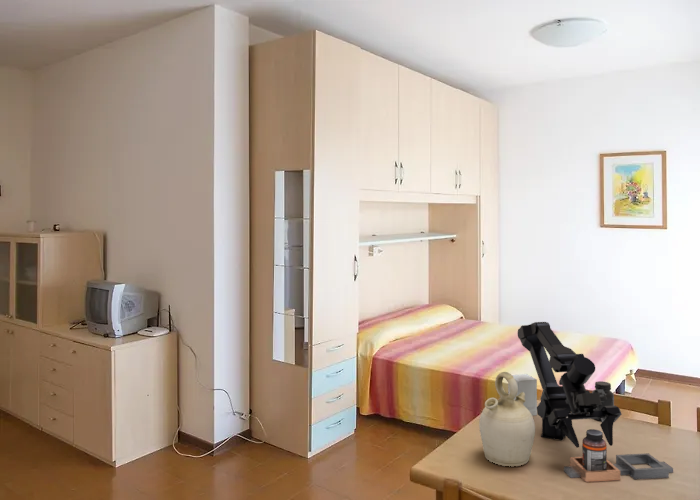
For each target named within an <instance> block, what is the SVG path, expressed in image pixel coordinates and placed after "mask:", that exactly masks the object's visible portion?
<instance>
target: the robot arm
mask: <svg viewBox="0 0 700 500" xmlns="http://www.w3.org/2000/svg"><path fill="white" fill-rule="evenodd" d="M517 337H518V339H519V341H520V343H521V345H522V346H523V347H524V348H525V349H526V350H527V351H529V353H530V356H531V359H532V362H533V363H532V364H533V365H534V368H535V371H536V373H537V377H538V379H539V383H540V386H541V389H542V392H541V396H540V401H539V403H538V404H537V416H539V417H540V418H541V421H542V423H541V424H542V425H541V430H542V431H541V434H540V437H541V438H543V439H544V438H545V439H551V440H557V441H564V438H566V437H567V439H568V440H570V442H571V443H572V444H573V445H574V446H575V448H579V447H580V443H579V440H578V437H577V434H576V432H575V428H574V426H573V420H575V421H576V420H577V421H578V420H591V419H592V420H593V419H594V420H595V418H599V422H600V424H599V426H600V428H601V430H602V433H603V435H604V437H605V439H606V443H608V445H609V446H610V447H611V446H613V444H614V436H613V435H614V433H613V431H614V429H613V427H614V423H616V421H617V420H618V419H619V418H620V417H621V416H622V411H621V409H620V407H618V406H617V405H614V406H604V407H603V408H602V409H601V410H600V411H594V410H593V409H596V408H597V405H601V402H604V401H606V399H607V398H606V394H605V392H604V390H603V389H599V390H595V389H594V390H595V393H592V392H590V390H587V389H586V386H585V384H586V383H587V382H589V380H590V378H591V377H592V376H593V374H594V373H595V371H596V365H595V363H594V362H593V361H592V360H591V359H589V358H588V357H587V356H586V357H585V356H584V353H576V352H575V351H574V350H573V349H572V348H570V347H567V346H564V344H563V343H562V341H560V339H559V338H558V336H557V335H556V334H555V332H554V330H552V328H551V325H550V323H549V322H547V321H534V322H531V324H530V323H529V324H524V325H520V327H519V328H518V329H517ZM547 353H548V354H547ZM548 355H549V356H548ZM555 373H563V374H562V375H561V376H560V378H559V382H558V381H557V379H556V376H555Z"/></svg>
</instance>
